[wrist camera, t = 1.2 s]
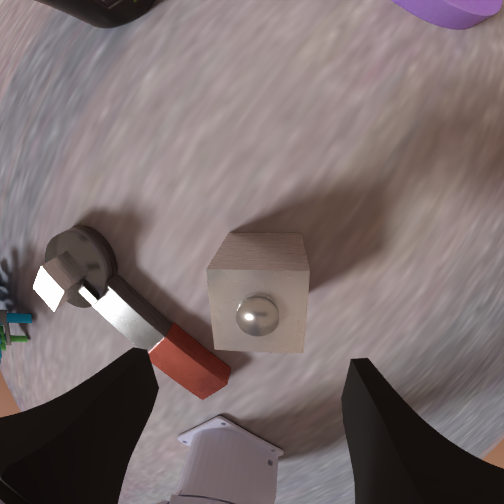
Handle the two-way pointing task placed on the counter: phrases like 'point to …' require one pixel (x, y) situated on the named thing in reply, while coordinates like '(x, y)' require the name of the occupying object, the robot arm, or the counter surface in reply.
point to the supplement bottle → (102, 10)
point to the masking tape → (452, 11)
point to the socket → (259, 293)
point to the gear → (3, 319)
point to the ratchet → (124, 308)
